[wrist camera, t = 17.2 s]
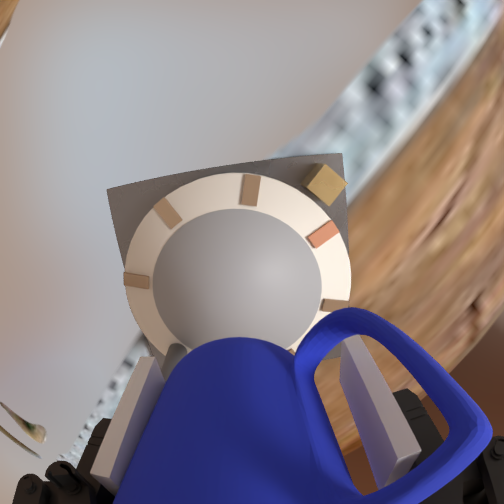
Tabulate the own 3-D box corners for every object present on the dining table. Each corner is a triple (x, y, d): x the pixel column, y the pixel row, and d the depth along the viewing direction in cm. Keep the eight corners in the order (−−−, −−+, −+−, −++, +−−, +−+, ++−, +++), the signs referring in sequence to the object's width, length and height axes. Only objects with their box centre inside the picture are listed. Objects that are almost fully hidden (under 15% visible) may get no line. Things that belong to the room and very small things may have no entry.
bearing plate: (109, 188, 21) (92, 193, 18) (339, 153, 21) (353, 152, 18) (162, 372, 27) (155, 392, 24) (345, 351, 26) (354, 371, 23)
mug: (410, 312, 12) (530, 468, 3) (254, 444, 15) (256, 586, 6) (284, 200, 11) (445, 428, 1) (134, 383, 14) (73, 544, 4)
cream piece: (129, 344, 25) (98, 402, 17) (148, 152, 19) (98, 152, 12) (306, 379, 26) (321, 442, 19) (371, 205, 21) (425, 230, 14)
